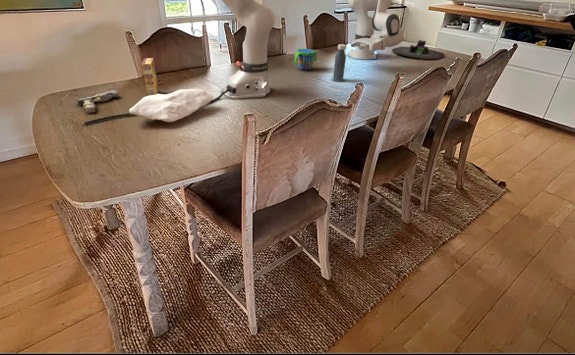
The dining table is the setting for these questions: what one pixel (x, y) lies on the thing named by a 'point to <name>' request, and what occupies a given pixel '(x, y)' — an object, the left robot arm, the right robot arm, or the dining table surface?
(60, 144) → the dining table surface
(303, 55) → the snack cup
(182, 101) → the crumpled cloth
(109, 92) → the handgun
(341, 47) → the cap
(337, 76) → the bottle
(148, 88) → the candy box
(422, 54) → the dark round tray
